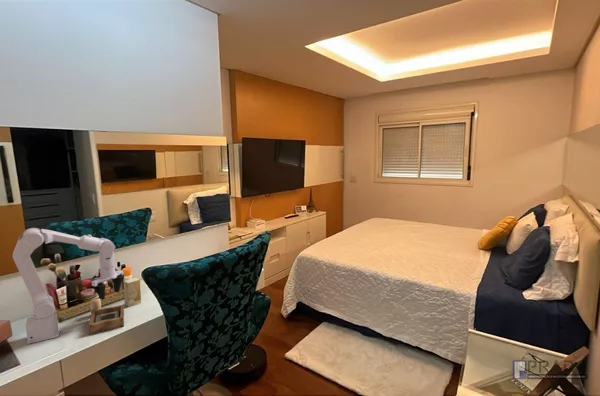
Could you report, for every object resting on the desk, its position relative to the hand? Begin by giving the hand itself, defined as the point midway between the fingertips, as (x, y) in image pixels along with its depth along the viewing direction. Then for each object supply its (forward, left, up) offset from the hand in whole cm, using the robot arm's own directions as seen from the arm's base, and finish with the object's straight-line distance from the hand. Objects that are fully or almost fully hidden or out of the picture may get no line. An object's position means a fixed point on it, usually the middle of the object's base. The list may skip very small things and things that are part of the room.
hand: (109, 295), depth 137 cm
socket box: (-1, -6, -10) cm, 12 cm away
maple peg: (-6, +5, -10) cm, 13 cm away
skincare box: (+9, +9, -10) cm, 17 cm away
